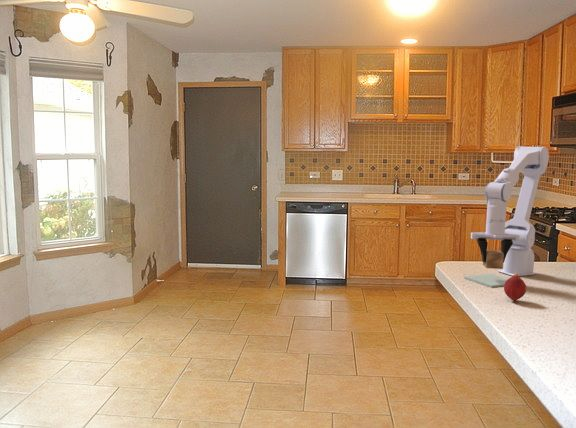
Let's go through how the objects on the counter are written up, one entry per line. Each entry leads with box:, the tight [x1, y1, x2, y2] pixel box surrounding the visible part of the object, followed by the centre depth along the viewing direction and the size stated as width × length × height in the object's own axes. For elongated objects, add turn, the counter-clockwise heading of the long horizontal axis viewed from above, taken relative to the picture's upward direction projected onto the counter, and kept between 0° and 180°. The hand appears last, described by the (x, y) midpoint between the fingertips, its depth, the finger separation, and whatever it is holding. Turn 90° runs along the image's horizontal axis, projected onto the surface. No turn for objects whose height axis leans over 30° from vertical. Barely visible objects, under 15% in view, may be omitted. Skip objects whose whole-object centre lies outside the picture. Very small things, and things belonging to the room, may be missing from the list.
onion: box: [503, 273, 527, 302], centre depth 152 cm, size 6×6×8 cm
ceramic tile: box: [463, 273, 509, 288], centre depth 174 cm, size 12×12×1 cm
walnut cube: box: [482, 249, 504, 270], centre depth 173 cm, size 5×5×5 cm
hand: (492, 261), depth 173 cm, fingers closed on walnut cube, 5 cm apart
